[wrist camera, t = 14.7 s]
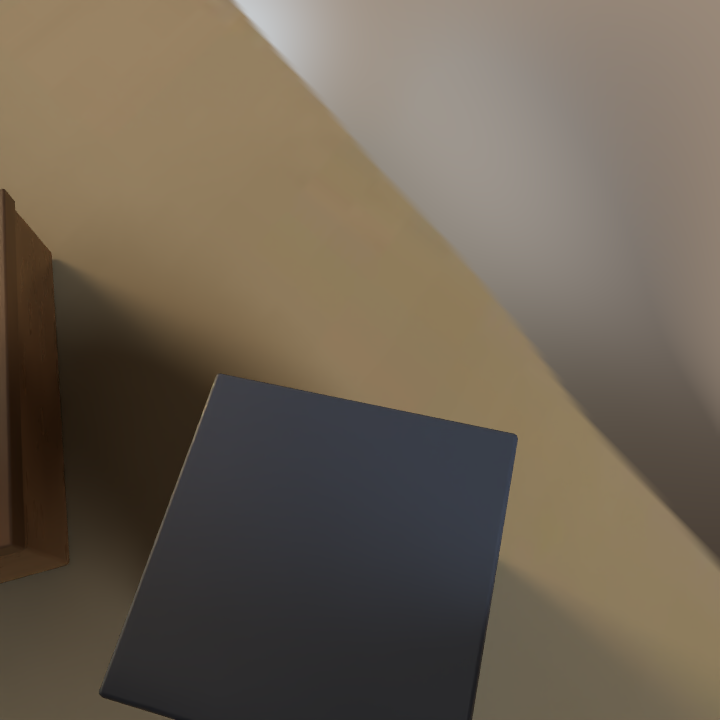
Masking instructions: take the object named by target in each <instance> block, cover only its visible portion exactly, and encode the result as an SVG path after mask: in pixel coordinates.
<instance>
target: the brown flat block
mask: <svg viewBox="0 0 720 720" xmlns="http://www.w3.org/2000/svg"><path fill="white" fill-rule="evenodd" d="M67 564H69V544H68V526H67V509H66V492H65V475H64V458H63V441H62V423H61V406H60V389H59V372H58V355H57V337H56V320H55V303H54V286H53V269H52V253H51V252H50V251H49V249H48V248H47V247H46V246H45V245H44V244H43V242H42V241H41V240H40V239H39V238H38V237H37V235H36V234H35V233H34V232H33V231H32V229H31V228H30V227H29V226H28V225H27V224H26V222H25V221H24V220H23V219H22V218H21V216H20V215H19V214H18V213H17V212H16V211H15V201H14V200H13V199H12V198H11V196H10V195H9V194H8V193H7V192H6V190H5V189H0V583H3V582H6V581H10V580H14V579H17V578H21V577H25V576H28V575H32V574H36V573H40V572H43V571H47V570H51V569H54V568H58V567H62V566H65V565H67Z"/></svg>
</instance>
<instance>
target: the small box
mask: <svg viewBox="0 0 720 720" xmlns="http://www.w3.org/2000/svg"><path fill="white" fill-rule="evenodd" d="M517 441H518V438H517V435H515V434H513V433H508V432H503V431H498V430H493V429H488V428H484V427H479V426H474V425H469V424H464V423H459V422H454V421H449V420H445V419H440V418H435V417H430V416H425V415H420V414H415V413H410V412H406V411H401V410H396V409H391V408H386V407H381V406H376V405H371V404H367V403H362V402H357V401H352V400H347V399H342V398H337V397H332V396H327V395H323V394H318V393H313V392H308V391H303V390H298V389H293V388H288V387H284V386H279V385H274V384H269V383H264V382H259V381H254V380H249V379H245V378H240V377H235V376H230V375H225V374H217V375H216V378H215V380H214V383H213V386H212V388H211V391H210V394H209V396H208V399H207V402H206V405H205V407H204V410H203V413H202V415H201V418H200V421H199V423H198V426H197V429H196V431H195V434H194V437H193V440H192V442H191V445H190V448H189V450H188V453H187V456H186V458H185V461H184V464H183V467H182V469H181V472H180V475H179V477H178V480H177V483H176V485H175V488H174V491H173V494H172V496H171V499H170V502H169V504H168V507H167V510H166V512H165V515H164V518H163V520H162V523H161V526H160V529H159V531H158V534H157V537H156V539H155V542H154V545H153V547H152V550H151V553H150V556H149V558H148V561H147V564H146V566H145V569H144V572H143V574H142V577H141V580H140V582H139V585H138V588H137V591H136V593H135V596H134V599H133V601H132V604H131V607H130V609H129V612H128V615H127V618H126V620H125V623H124V626H123V628H122V631H121V634H120V636H119V639H118V642H117V645H116V647H115V650H114V653H113V655H112V658H111V661H110V663H109V666H108V669H107V671H106V674H105V677H104V680H103V682H102V685H101V688H100V690H99V694H100V695H101V696H102V697H103V698H106V699H109V700H113V701H116V702H119V703H122V704H126V705H129V706H132V707H136V708H139V709H142V710H145V711H149V712H152V713H155V714H158V715H162V716H165V717H168V718H171V719H175V720H472V716H473V710H474V704H475V698H476V692H477V686H478V679H479V673H480V667H481V661H482V655H483V649H484V643H485V637H486V630H487V624H488V618H489V612H490V606H491V600H492V594H493V588H494V582H495V575H496V569H497V563H498V557H499V551H500V545H501V539H502V533H503V526H504V520H505V514H506V508H507V502H508V496H509V490H510V484H511V478H512V471H513V465H514V459H515V453H516V447H517Z"/></svg>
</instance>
